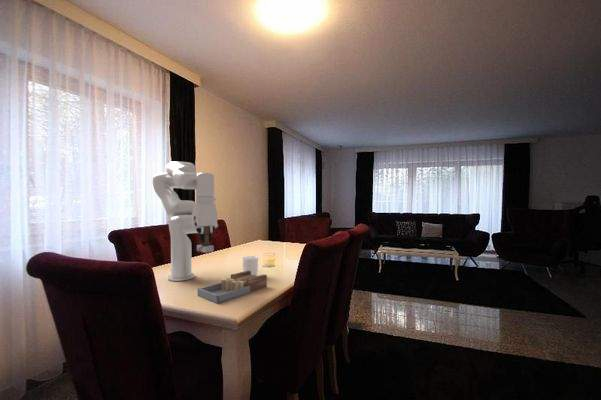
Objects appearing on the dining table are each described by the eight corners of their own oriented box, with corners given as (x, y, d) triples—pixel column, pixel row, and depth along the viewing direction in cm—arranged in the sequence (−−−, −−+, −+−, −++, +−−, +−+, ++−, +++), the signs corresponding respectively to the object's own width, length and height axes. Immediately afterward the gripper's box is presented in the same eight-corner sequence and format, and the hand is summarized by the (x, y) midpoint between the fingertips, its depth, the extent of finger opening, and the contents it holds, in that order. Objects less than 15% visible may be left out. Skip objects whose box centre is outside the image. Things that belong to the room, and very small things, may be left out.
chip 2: (238, 289, 124) (230, 291, 121) (238, 280, 124) (230, 282, 121) (243, 291, 122) (236, 293, 119) (243, 281, 122) (236, 283, 119)
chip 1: (229, 287, 127) (221, 289, 124) (229, 278, 127) (221, 280, 124) (234, 288, 125) (227, 291, 122) (234, 279, 125) (227, 281, 122)
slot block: (230, 286, 129) (230, 274, 129) (248, 281, 137) (248, 270, 137) (249, 292, 121) (249, 279, 121) (266, 287, 129) (266, 275, 129)
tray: (197, 295, 117) (197, 288, 117) (230, 286, 130) (230, 280, 130) (217, 303, 108) (217, 296, 108) (250, 293, 121) (250, 286, 121)
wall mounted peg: (196, 250, 127) (196, 225, 127) (204, 249, 131) (204, 224, 130) (205, 252, 123) (205, 225, 123) (213, 251, 126) (213, 225, 126)
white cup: (240, 276, 147) (240, 257, 147) (255, 274, 150) (255, 255, 150) (245, 280, 140) (244, 259, 140) (260, 278, 143) (260, 258, 143)
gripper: (216, 200, 135) (216, 239, 135) (183, 200, 123) (183, 243, 123) (225, 200, 130) (225, 241, 131) (192, 201, 118) (192, 245, 118)
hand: (205, 241), depth 127 cm, fingers closed on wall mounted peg, 2 cm apart
